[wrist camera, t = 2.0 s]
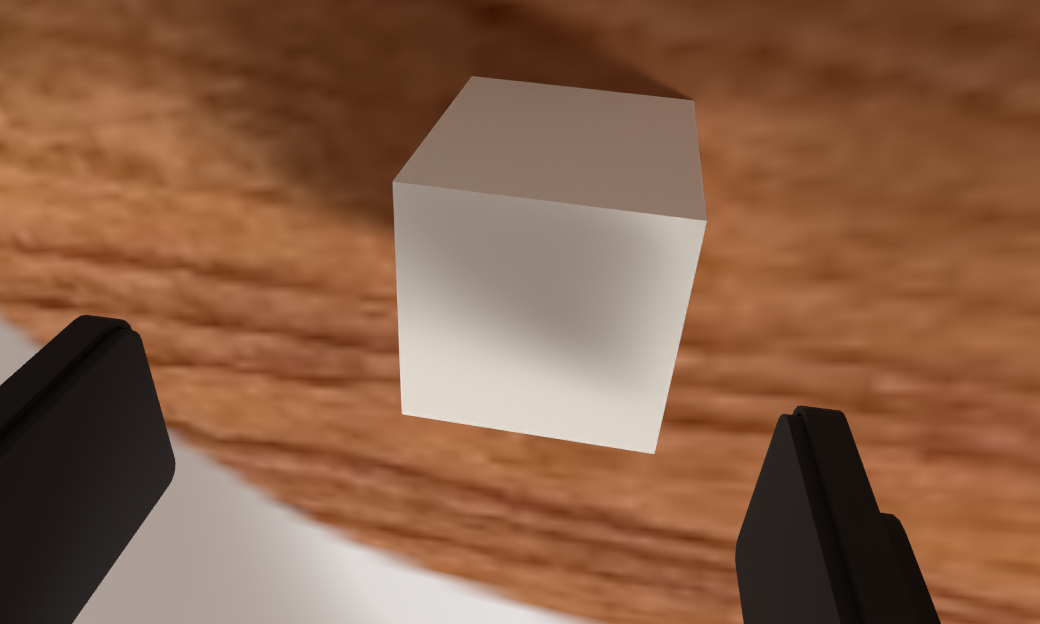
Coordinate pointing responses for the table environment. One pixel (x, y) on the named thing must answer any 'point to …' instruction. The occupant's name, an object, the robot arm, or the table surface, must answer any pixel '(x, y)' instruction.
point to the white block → (548, 260)
